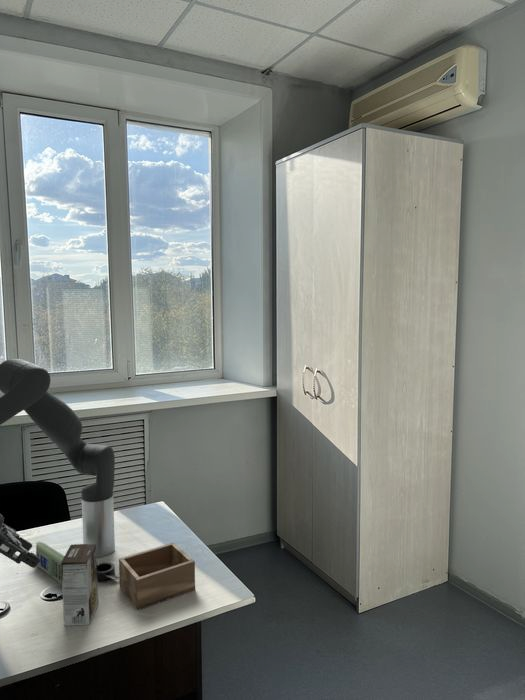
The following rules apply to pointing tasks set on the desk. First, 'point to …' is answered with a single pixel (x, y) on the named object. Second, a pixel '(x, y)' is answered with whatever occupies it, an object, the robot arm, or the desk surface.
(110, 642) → the desk surface
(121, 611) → the desk surface
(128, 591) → the walled box
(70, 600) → the coffee box
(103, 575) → the black wing nut
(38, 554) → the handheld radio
